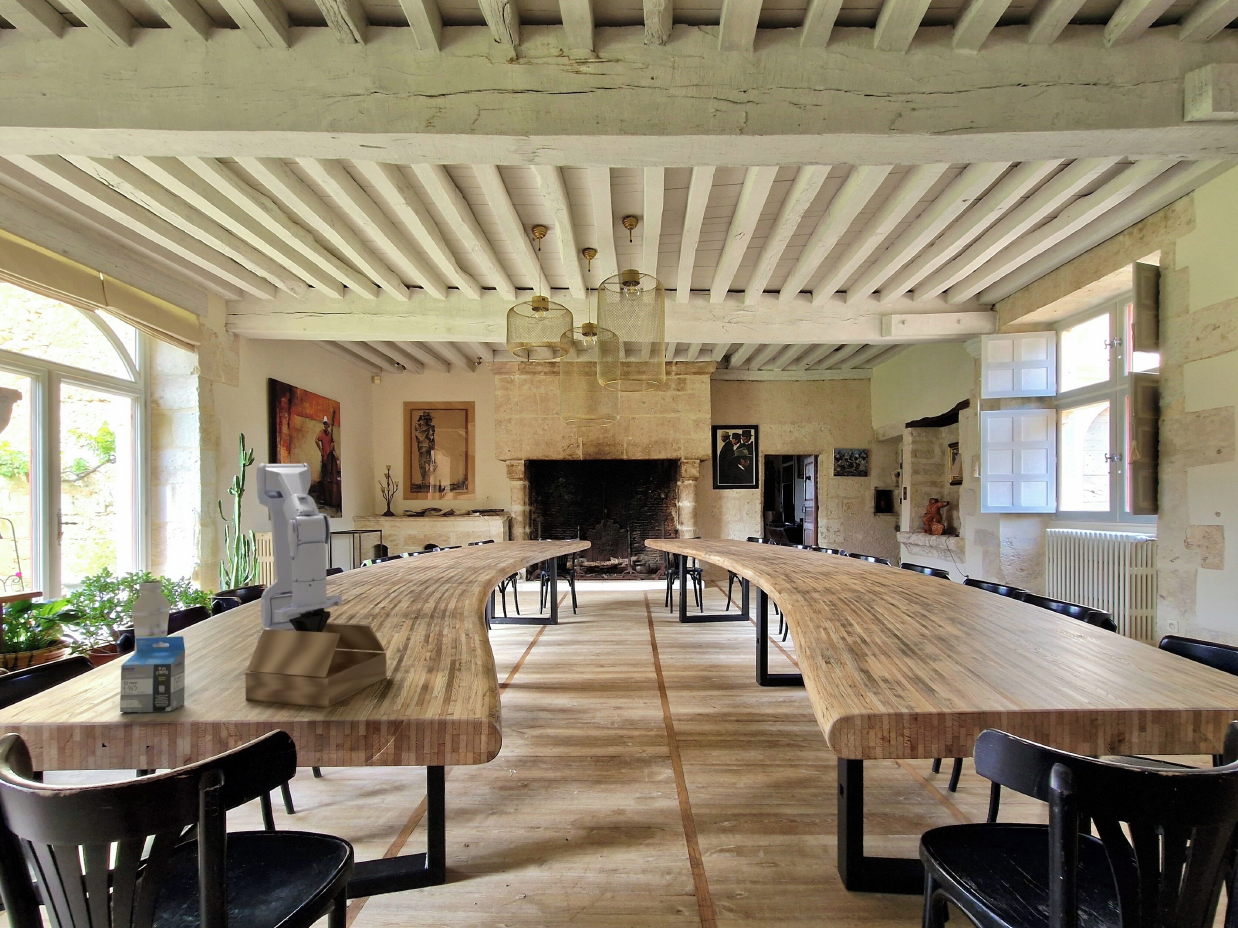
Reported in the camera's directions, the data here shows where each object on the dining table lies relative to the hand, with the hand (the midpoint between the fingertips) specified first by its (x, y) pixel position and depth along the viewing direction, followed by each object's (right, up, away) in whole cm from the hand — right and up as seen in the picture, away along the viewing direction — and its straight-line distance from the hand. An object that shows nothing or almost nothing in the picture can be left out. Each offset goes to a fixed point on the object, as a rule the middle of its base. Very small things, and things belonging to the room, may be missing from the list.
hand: (310, 651), depth 112 cm
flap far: (+2, +1, +7) cm, 8 cm away
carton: (+1, -8, +2) cm, 8 cm away
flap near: (-1, +1, -4) cm, 4 cm away
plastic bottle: (-38, -9, +10) cm, 40 cm away
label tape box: (-25, -8, -7) cm, 27 cm away
